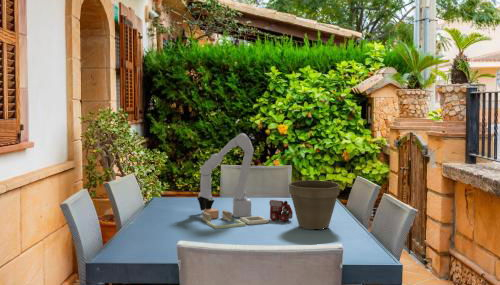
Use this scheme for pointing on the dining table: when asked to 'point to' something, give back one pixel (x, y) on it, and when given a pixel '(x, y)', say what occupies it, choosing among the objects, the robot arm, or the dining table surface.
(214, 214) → the terracotta block
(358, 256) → the dining table surface
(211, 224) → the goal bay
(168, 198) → the dining table surface
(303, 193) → the plant pot
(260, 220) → the trap basin
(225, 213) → the channel walls
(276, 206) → the toy fire truck
